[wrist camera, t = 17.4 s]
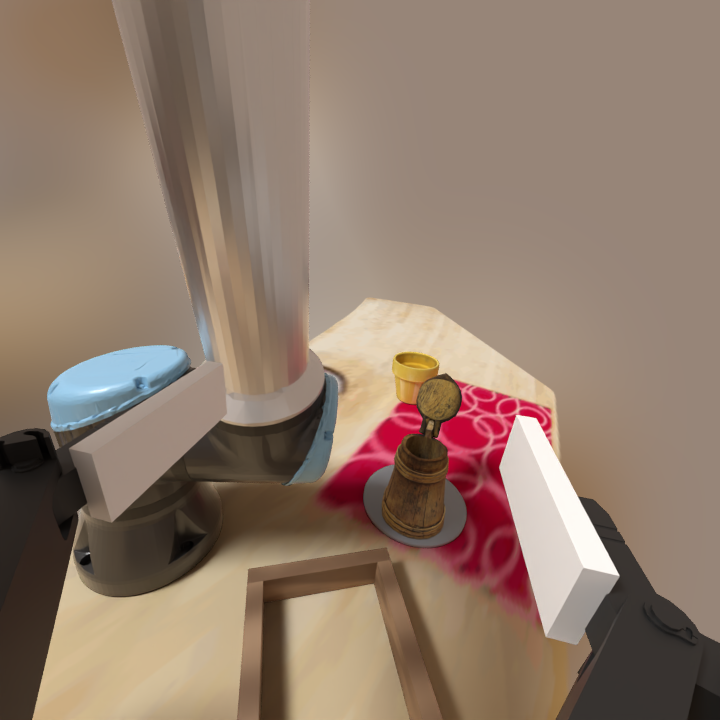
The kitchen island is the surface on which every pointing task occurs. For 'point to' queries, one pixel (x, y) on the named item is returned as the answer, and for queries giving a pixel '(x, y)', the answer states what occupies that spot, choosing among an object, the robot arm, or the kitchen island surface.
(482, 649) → the kitchen island surface
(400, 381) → the plant pot
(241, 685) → the frame
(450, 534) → the grey mat
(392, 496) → the wooden mug
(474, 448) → the kitchen island surface
